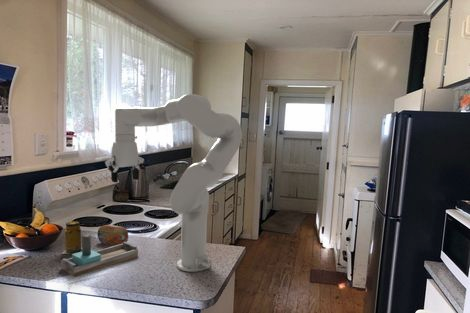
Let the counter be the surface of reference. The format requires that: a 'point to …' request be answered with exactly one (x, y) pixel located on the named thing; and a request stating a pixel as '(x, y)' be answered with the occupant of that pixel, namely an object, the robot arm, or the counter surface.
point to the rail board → (102, 259)
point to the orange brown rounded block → (112, 235)
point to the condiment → (72, 238)
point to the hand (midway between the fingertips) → (125, 180)
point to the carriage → (85, 253)
